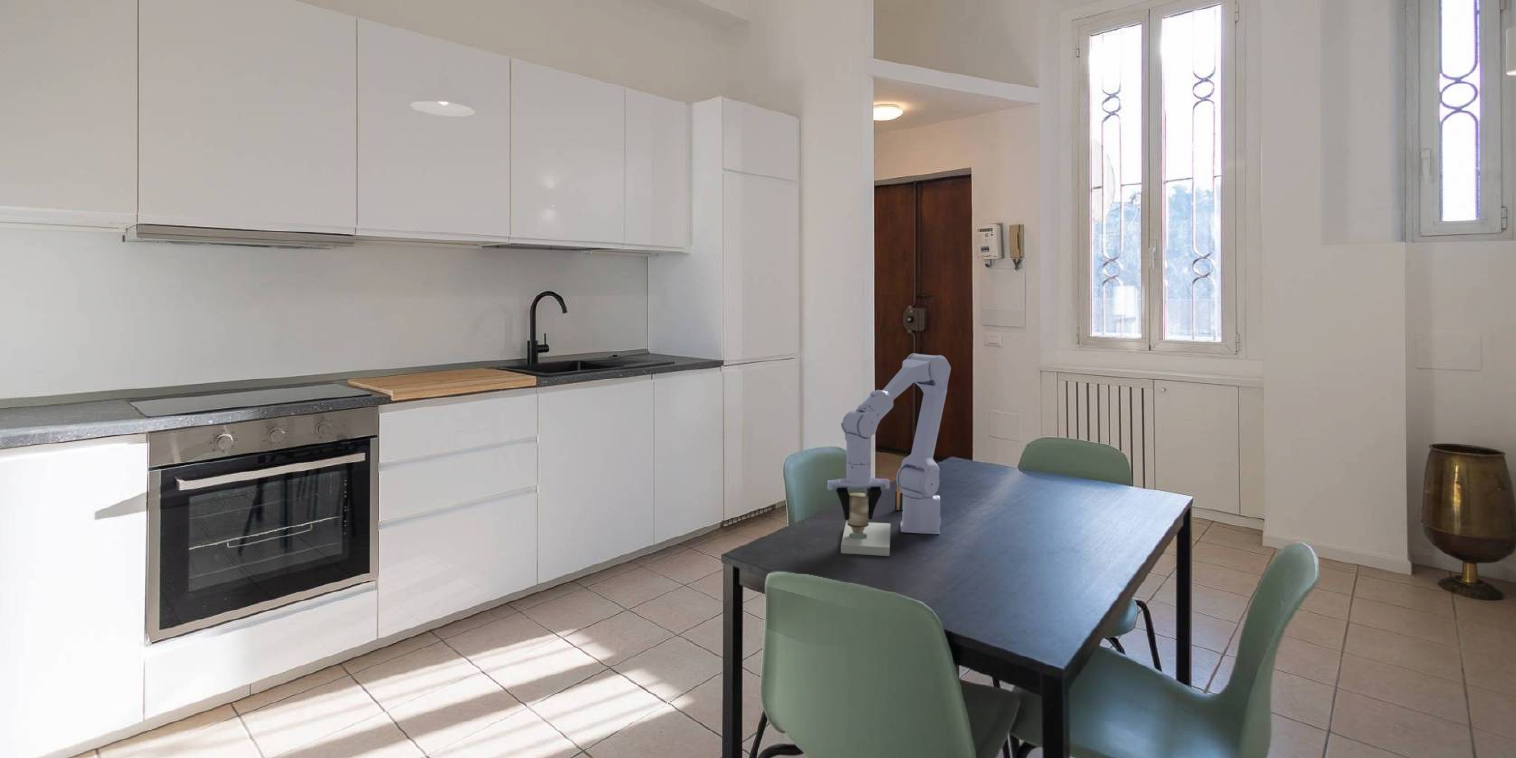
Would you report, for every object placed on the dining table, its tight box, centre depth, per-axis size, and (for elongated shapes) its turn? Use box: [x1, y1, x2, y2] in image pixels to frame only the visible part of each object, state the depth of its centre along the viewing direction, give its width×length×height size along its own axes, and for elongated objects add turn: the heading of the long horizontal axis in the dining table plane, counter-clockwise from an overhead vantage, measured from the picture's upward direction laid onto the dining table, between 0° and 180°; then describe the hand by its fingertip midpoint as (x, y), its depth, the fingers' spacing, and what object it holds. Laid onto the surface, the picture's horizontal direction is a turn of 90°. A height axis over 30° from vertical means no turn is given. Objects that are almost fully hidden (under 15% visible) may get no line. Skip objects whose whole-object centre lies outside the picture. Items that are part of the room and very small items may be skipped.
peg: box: [846, 492, 870, 533], centre depth 178 cm, size 5×5×9 cm
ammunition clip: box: [894, 466, 920, 512], centre depth 209 cm, size 11×2×12 cm, turn 138°
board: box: [840, 520, 891, 557], centre depth 180 cm, size 11×18×2 cm, turn 169°
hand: (858, 518), depth 178 cm, fingers closed on peg, 5 cm apart
